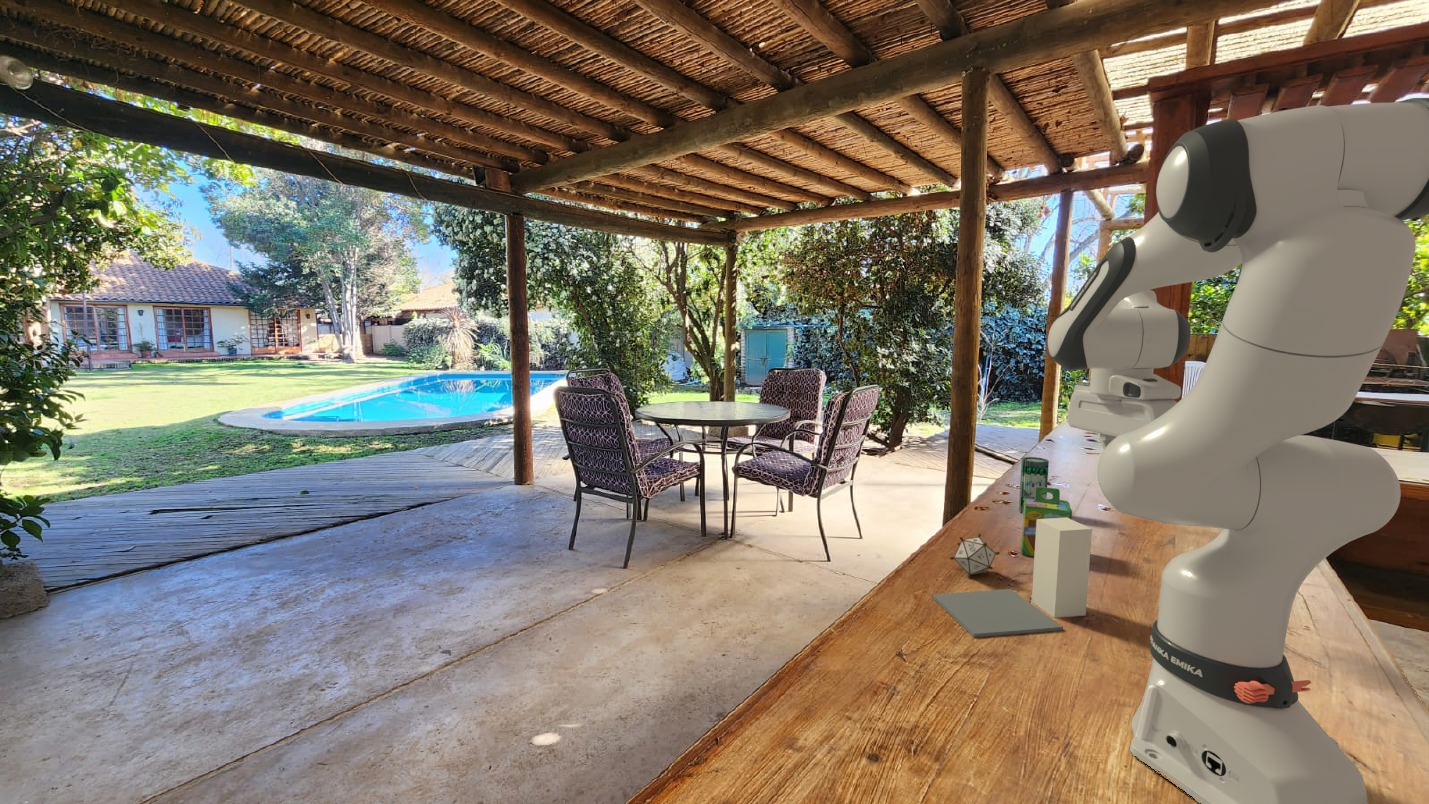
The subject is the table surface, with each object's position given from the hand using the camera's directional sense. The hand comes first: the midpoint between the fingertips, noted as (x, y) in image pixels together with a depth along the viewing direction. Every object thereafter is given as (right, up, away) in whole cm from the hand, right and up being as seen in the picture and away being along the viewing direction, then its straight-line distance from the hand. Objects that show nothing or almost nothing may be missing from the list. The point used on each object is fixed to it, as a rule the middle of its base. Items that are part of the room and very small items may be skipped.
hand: (1114, 461), depth 99 cm
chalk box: (+4, -24, +28) cm, 37 cm away
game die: (-17, -26, +17) cm, 35 cm away
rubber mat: (-21, -28, +1) cm, 35 cm away
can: (+16, -20, +54) cm, 60 cm away
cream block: (-9, -27, +3) cm, 29 cm away
